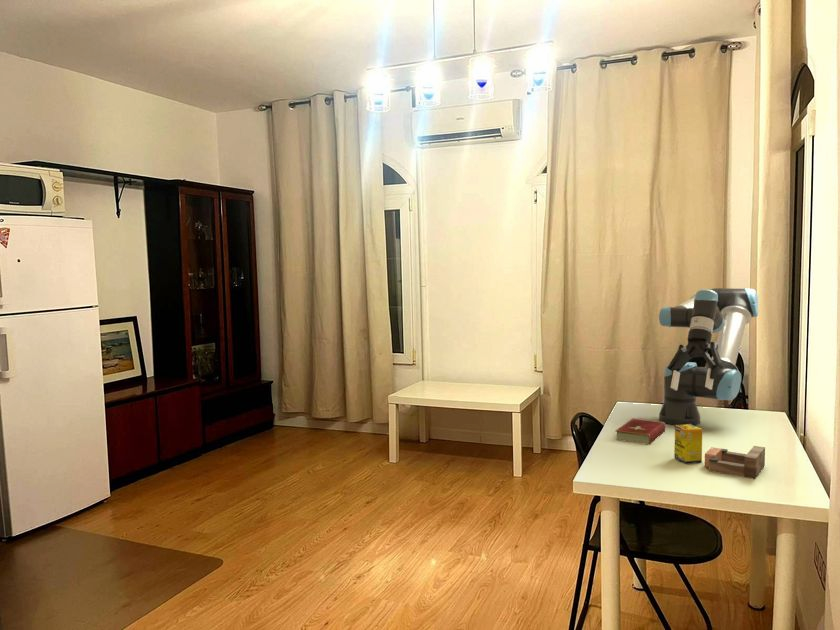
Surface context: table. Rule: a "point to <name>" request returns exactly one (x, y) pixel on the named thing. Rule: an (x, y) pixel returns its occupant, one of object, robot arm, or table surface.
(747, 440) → the table surface
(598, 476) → the table surface
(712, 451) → the block
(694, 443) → the supplement box
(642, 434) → the hardcover book
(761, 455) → the dock
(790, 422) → the table surface
